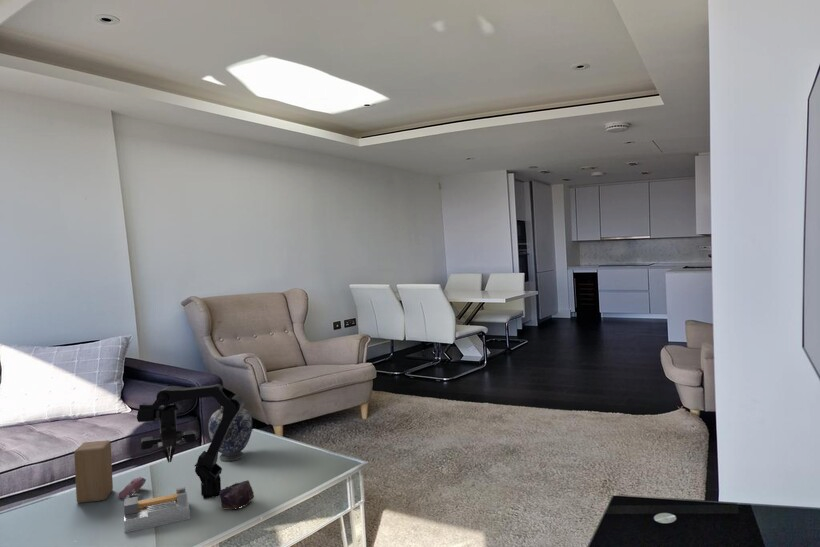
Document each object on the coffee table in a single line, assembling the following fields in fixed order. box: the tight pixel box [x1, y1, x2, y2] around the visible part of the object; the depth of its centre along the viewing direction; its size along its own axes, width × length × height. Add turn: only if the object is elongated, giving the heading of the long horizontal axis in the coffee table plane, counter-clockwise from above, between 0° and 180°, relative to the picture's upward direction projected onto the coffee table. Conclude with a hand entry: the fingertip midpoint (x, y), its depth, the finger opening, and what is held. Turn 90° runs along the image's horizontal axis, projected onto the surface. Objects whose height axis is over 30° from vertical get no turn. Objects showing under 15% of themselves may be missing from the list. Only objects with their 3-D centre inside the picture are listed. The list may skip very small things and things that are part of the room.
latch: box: [123, 496, 139, 516], centre depth 190 cm, size 4×6×3 cm, turn 25°
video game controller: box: [117, 476, 147, 499], centre depth 213 cm, size 10×5×7 cm, turn 170°
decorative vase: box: [208, 391, 253, 463], centre depth 248 cm, size 21×19×28 cm
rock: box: [219, 480, 255, 510], centre depth 200 cm, size 12×9×10 cm
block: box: [73, 440, 114, 504], centre depth 211 cm, size 10×10×20 cm
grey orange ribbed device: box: [123, 487, 191, 534], centre depth 194 cm, size 20×14×7 cm
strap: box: [138, 492, 182, 507], centre depth 195 cm, size 19×3×1 cm, turn 115°
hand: (169, 462), depth 210 cm, fingers closed
